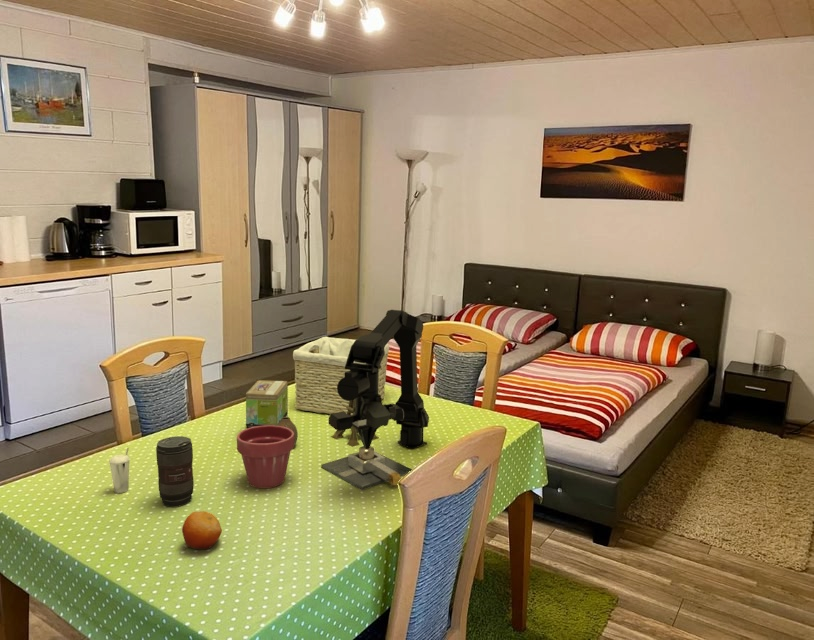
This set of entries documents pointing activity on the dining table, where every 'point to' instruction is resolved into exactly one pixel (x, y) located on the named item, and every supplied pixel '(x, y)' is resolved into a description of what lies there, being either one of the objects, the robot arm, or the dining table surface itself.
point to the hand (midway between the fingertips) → (366, 448)
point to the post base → (356, 477)
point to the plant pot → (265, 454)
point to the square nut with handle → (374, 467)
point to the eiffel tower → (353, 436)
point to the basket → (326, 374)
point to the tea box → (266, 403)
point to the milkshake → (120, 472)
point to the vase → (289, 426)
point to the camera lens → (175, 470)
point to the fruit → (201, 530)
